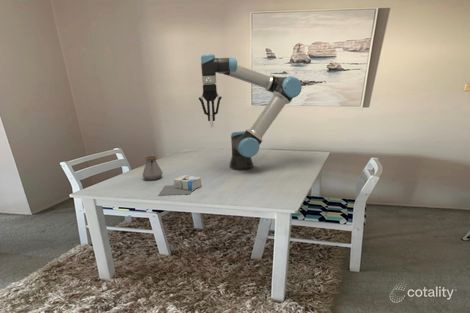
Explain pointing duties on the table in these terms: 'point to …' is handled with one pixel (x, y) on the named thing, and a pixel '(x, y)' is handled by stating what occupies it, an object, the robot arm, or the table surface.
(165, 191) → the mat
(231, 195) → the table surface
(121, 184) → the table surface
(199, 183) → the ink box
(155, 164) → the coffee pot
